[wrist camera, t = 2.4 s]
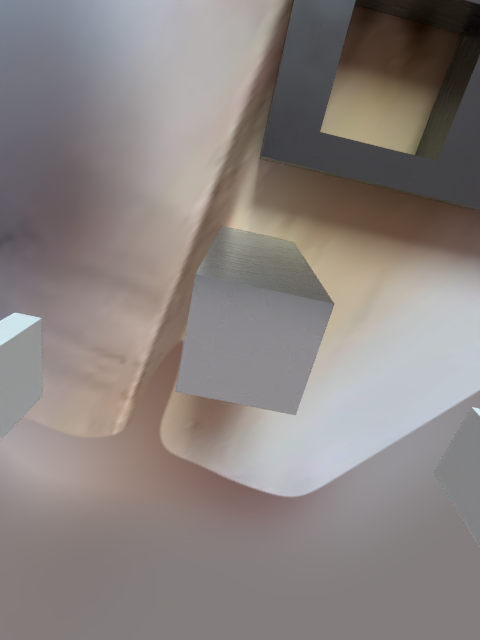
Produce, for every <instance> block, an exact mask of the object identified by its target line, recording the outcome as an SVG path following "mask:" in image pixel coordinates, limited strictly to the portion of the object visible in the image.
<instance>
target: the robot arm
mask: <svg viewBox="0 0 480 640" xmlns="http://www.w3.org/2000/svg"><path fill="white" fill-rule="evenodd" d="M41 397H42V318H39V317H34V316H29V315H25V314H20V313H13V314H11V315H10V316H8V317H6V318H4V319H3V320H1V321H0V440H1V439H2V438H3V437H4V436H5V435H6V434H7V433H8V431H10V429H11V428H12V427H13V426H14V425H15V424H16V423H17V422H18V421H19V420H20V419H21V418H22V417H23V416H24V415H25V414H26V413H27V412H28V411H29V410H30V409H31V408H32V407H33V406H34V405H35V403H36V402H37V401H38V400H39V399H40V398H41ZM433 473H434V475H435V476H436V478H437V480H438V481H439V483H440V485H441V486H442V488H443V489H444V491H445V492H446V494H447V496H448V498H449V499H450V501H451V502H452V504H453V506H454V507H455V509H456V511H457V512H458V514H459V515H460V517H461V519H462V520H463V522H464V523H465V525H466V527H467V528H468V530H469V531H470V533H471V535H472V536H473V538H474V540H475V541H476V543H477V544H478V546H479V548H480V409H478V408H473V407H471V409H470V411H469V412H468V414H467V416H466V417H465V419H464V421H463V423H462V424H461V426H460V428H459V429H458V431H457V433H456V434H455V436H454V438H453V440H452V441H451V443H450V445H449V447H448V448H447V450H446V452H445V453H444V455H443V457H442V459H441V460H440V462H439V464H438V465H437V467H436V469H435V470H434V472H433Z"/></svg>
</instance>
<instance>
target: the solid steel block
mask: <svg viewBox="0 0 480 640" xmlns="http://www.w3.org/2000/svg"><path fill="white" fill-rule="evenodd" d="M333 306H334V303H333V301H332V300H331V298H330V296H329V295H328V293H327V292H326V290H325V289H324V287H323V286H322V284H321V283H320V281H319V280H318V278H317V277H316V275H315V273H314V272H313V270H312V269H311V267H310V266H309V264H308V263H307V261H306V260H305V258H304V257H303V255H302V253H301V252H300V250H299V249H298V247H297V246H296V244H295V243H294V242H291V241H286V240H282V239H278V238H273V237H269V236H264V235H260V234H256V233H251V232H247V231H242V230H238V229H233V228H229V227H225V226H221V228H220V230H219V232H218V234H217V236H216V237H215V239H214V241H213V243H212V245H211V247H210V248H209V250H208V252H207V254H206V256H205V258H204V259H203V261H202V263H201V265H200V267H199V269H198V270H197V272H196V275H195V280H194V286H193V292H192V298H191V304H190V310H189V316H188V321H187V327H186V333H185V339H184V345H183V351H182V357H181V362H180V368H179V374H178V380H177V386H176V392H180V393H185V394H190V395H195V396H200V397H205V398H210V399H215V400H221V401H226V402H231V403H236V404H241V405H246V406H251V407H256V408H261V409H267V410H272V411H277V412H282V413H287V414H292V415H296V413H297V410H298V407H299V404H300V401H301V398H302V395H303V392H304V390H305V387H306V384H307V381H308V378H309V375H310V372H311V369H312V367H313V364H314V361H315V358H316V355H317V352H318V349H319V346H320V344H321V341H322V338H323V335H324V332H325V329H326V326H327V324H328V321H329V318H330V315H331V312H332V309H333Z"/></svg>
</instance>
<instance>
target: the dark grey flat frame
mask: <svg viewBox="0 0 480 640" xmlns="http://www.w3.org/2000/svg"><path fill="white" fill-rule="evenodd" d="M354 5H357V6H361V7H364V8H368V9H372V10H375V11H379V12H383V13H386V14H390V15H394V16H398V17H401V18H405V19H409V20H412V21H416V22H420V23H423V24H427V25H431V26H434V27H438V28H442V29H445V30H449V31H453V32H457V33H460V34H461V36H460V39H459V41H458V44H457V47H456V49H455V52H454V55H453V57H452V60H451V63H450V65H449V68H448V70H447V73H446V76H445V78H444V81H443V84H442V86H441V89H440V92H439V94H438V97H437V100H436V102H435V105H434V107H433V110H432V113H431V115H430V118H429V121H428V123H427V126H426V129H425V131H424V134H423V136H422V139H421V142H420V144H419V147H418V150H417V152H416V155H411V154H407V153H403V152H398V151H394V150H390V149H386V148H382V147H378V146H374V145H370V144H366V143H362V142H358V141H354V140H350V139H346V138H342V137H338V136H334V135H330V134H326V133H322V132H320V130H321V126H322V122H323V119H324V115H325V111H326V108H327V104H328V100H329V97H330V93H331V89H332V86H333V82H334V78H335V75H336V71H337V67H338V64H339V60H340V56H341V53H342V49H343V45H344V42H345V38H346V34H347V31H348V27H349V23H350V20H351V16H352V12H353V9H354ZM260 159H264V160H268V161H273V162H277V163H281V164H285V165H289V166H293V167H298V168H302V169H306V170H310V171H314V172H318V173H323V174H327V175H331V176H335V177H339V178H343V179H348V180H352V181H356V182H360V183H364V184H368V185H373V186H377V187H381V188H385V189H389V190H393V191H398V192H402V193H406V194H410V195H414V196H418V197H423V198H427V199H431V200H435V201H439V202H443V203H448V204H452V205H456V206H460V207H464V208H468V209H473V210H477V211H480V0H294V2H293V6H292V11H291V15H290V20H289V25H288V29H287V34H286V38H285V43H284V48H283V52H282V57H281V61H280V66H279V71H278V75H277V80H276V84H275V89H274V94H273V98H272V103H271V107H270V112H269V117H268V121H267V126H266V131H265V135H264V140H263V144H262V149H261V154H260Z"/></svg>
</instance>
